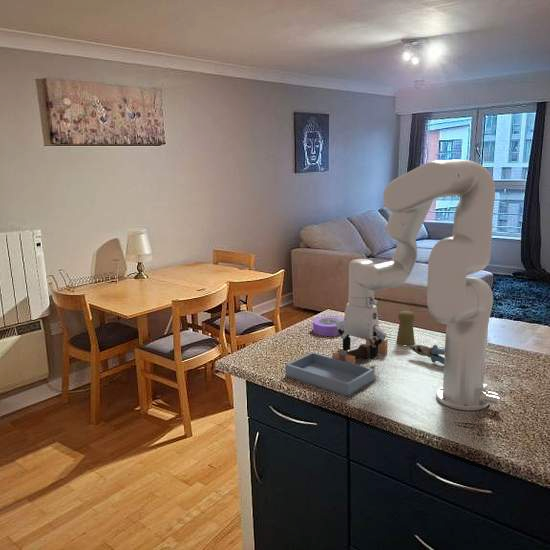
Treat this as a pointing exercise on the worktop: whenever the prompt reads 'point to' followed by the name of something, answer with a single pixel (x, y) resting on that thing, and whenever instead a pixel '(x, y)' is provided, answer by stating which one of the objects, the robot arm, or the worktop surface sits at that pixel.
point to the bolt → (360, 352)
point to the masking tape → (326, 325)
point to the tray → (330, 373)
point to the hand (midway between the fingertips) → (359, 354)
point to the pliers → (429, 352)
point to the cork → (406, 328)
